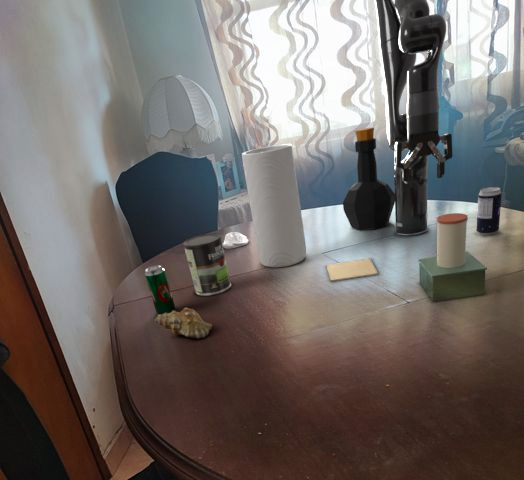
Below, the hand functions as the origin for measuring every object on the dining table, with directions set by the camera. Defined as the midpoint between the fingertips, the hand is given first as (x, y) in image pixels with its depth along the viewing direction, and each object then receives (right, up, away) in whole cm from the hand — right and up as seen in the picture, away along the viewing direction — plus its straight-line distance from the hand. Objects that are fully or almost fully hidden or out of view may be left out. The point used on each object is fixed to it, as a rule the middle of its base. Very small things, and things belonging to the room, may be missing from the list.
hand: (423, 180), depth 122 cm
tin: (-1, -31, -19) cm, 37 cm away
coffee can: (-56, -28, +7) cm, 63 cm away
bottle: (-6, -3, +35) cm, 35 cm away
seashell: (-60, -41, -16) cm, 75 cm away
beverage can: (+21, -12, +8) cm, 25 cm away
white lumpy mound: (-52, -7, +42) cm, 68 cm away
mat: (-19, -24, +1) cm, 30 cm away
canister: (-2, -26, -22) cm, 34 cm away
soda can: (-67, -35, -2) cm, 76 cm away
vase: (-36, -18, +18) cm, 44 cm away
